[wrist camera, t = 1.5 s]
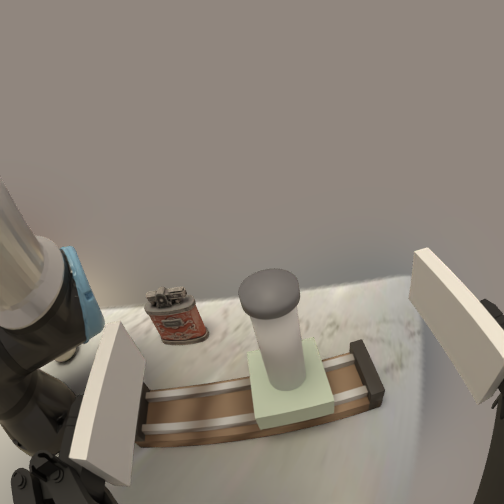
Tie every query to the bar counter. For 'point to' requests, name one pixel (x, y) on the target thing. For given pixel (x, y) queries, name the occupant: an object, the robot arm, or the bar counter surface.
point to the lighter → (175, 316)
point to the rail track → (248, 405)
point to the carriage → (282, 354)
